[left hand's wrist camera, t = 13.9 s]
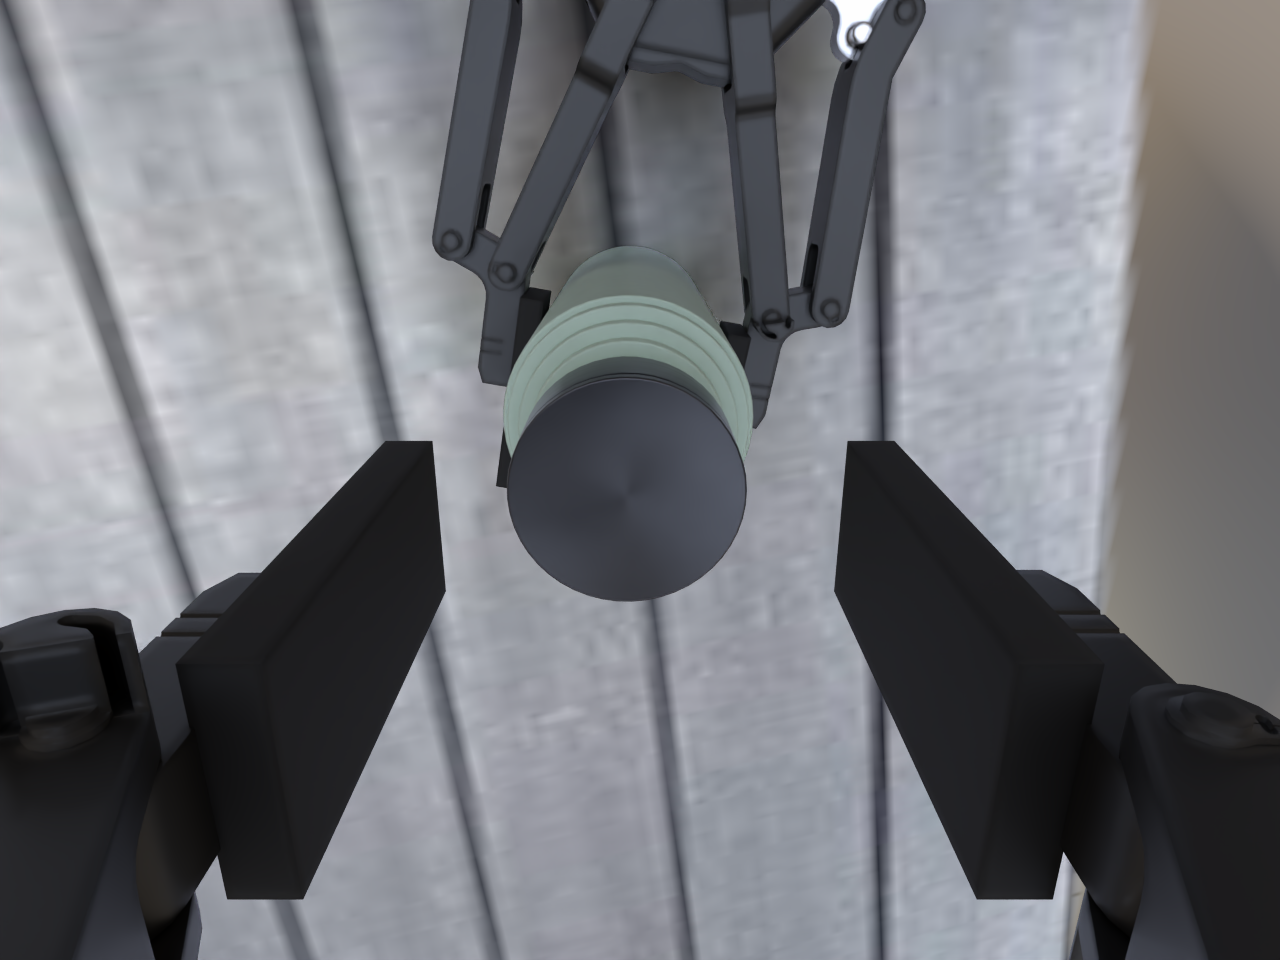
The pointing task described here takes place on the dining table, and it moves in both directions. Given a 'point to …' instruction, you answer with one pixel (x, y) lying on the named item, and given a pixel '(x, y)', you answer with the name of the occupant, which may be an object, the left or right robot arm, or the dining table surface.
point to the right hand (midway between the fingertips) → (605, 489)
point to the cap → (626, 480)
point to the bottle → (629, 335)
